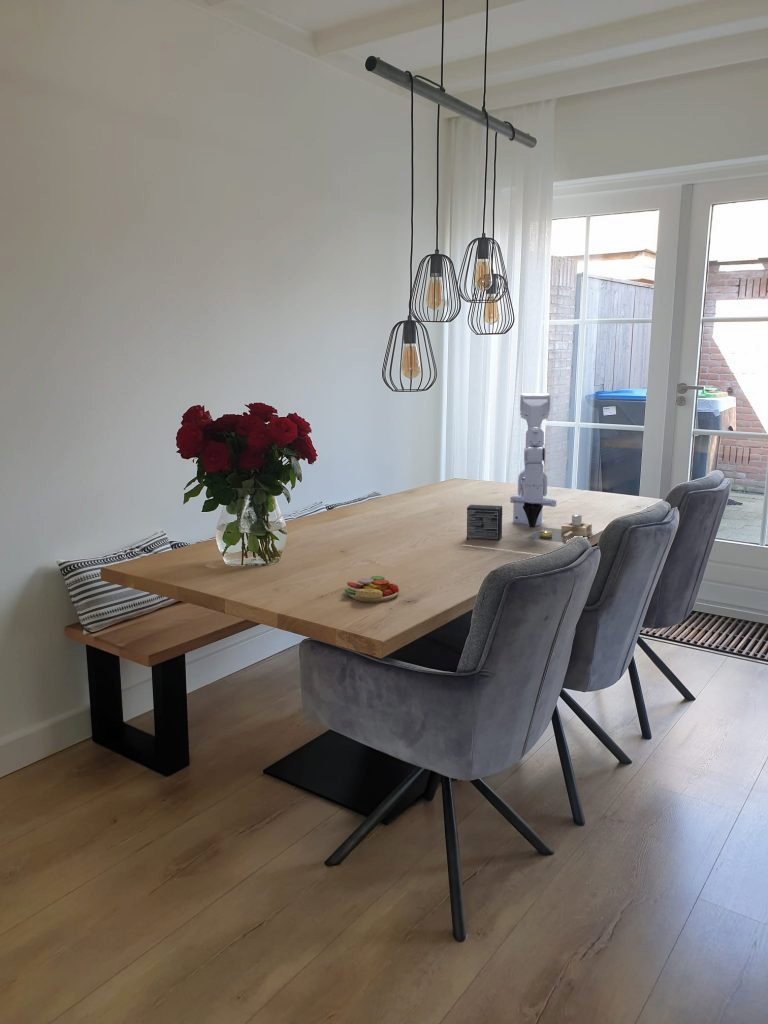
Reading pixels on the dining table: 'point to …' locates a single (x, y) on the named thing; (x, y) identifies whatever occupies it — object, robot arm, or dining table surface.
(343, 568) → the dining table surface
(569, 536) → the beech rail
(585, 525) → the beech socket block
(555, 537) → the slate board
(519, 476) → the robot arm
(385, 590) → the toy food set
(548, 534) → the gold metal dome
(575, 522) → the steel pin
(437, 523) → the dining table surface
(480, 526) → the small box
